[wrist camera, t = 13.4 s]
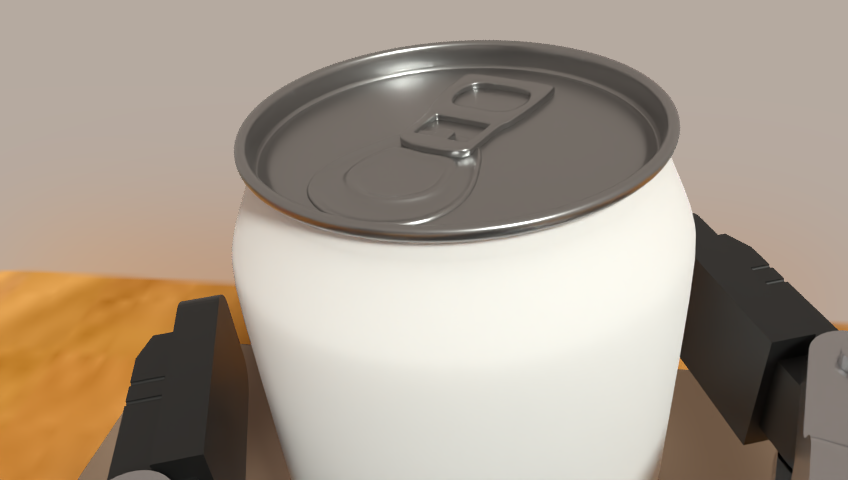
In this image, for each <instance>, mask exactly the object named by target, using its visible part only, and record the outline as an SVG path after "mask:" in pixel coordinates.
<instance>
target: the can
mask: <svg viewBox="0 0 848 480" xmlns="http://www.w3.org/2000/svg"><path fill="white" fill-rule="evenodd" d="M679 134H680V121H679V115H678V112H677V109H676V107H675V105H674V103H673V101H672V100H671V98H670V97H669V96H668V94H667V93H666V92H665V91H664V90H663V89H662V88H661V87H660V86H659V85H658V84H657V83H655V82H654V81H653V80H651V79H650V78H649V77H647V76H646V75H644V74H642V73H641V72H639V71H637V70H635V69H633V68H631V67H629V66H627V65H625V64H622V63H620V62H617V61H615V60H612V59H609V58H606V57H603V56H600V55H597V54H593V53H589V52H586V51H582V50H577V49H573V48H567V47H562V46H556V45H549V44H541V43H532V42H520V41H501V40H500V41H499V40H475V41H474V40H471V41H451V42H438V43H428V44H420V45H413V46H406V47H400V48H394V49H390V50H384V51H379V52H375V53H371V54H367V55H362V56H359V57H355V58H352V59H348V60H345V61H342V62H338V63H335V64H333V65H330V66H327V67H325V68H322V69H319V70H316V71H314V72H312V73H309V74H307V75H305V76H303V77H301V78H299V79H297V80H295V81H293V82H291V83H289V84H287V85H286V86H284V87H282V88H281V89H279V90H277V91H276V92H275V93H273V94H272V95H270V96H269V97H267V98H266V99H265V100H264V101H262V102H261V103H260V104H259V105H258V106H257V107H256V108H255V109H254V110H253V111H252V112H251V113H250V114H249V115H248V117H247V118H246V119H245V121H244V122H243V124H242V126H241V127H240V129H239V131H238V134H237V136H236V140H235V145H234V157H235V163H236V167H237V170H238V172H239V174H240V176H241V178H242V180H243V181H244V183H245V184H246V187H245V191H244V195H243V198H242V202H241V206H240V209H239V213H238V217H237V221H236V226H235V231H234V236H233V244H232V265H233V272H234V279H235V285H236V289H237V293H238V297H239V301H240V305H241V309H242V313H243V317H244V321H245V324H246V328H247V331H248V335H249V338H250V342H251V345H252V349H253V352H254V356H255V359H256V363H257V366H258V370H259V373H260V376H261V380H262V383H263V387H264V390H265V393H266V397H267V400H268V404H269V407H270V410H271V414H272V417H273V421H274V424H275V427H276V431H277V434H278V437H279V441H280V444H281V448H282V451H283V454H284V458H285V461H286V464H287V468H288V471H289V474H290V478H291V480H658V476H659V470H660V465H661V459H662V454H663V448H664V443H665V437H666V432H667V426H668V420H669V415H670V409H671V403H672V398H673V392H674V386H675V381H676V375H677V369H678V364H679V358H680V352H681V346H682V340H683V334H684V329H685V323H686V317H687V311H688V305H689V299H690V291H691V284H692V277H693V270H694V262H695V243H696V231H695V223H694V218H693V214H692V211H691V207H690V204H689V201H688V198H687V195H686V192H685V189H684V187H683V185H682V182H681V180H680V177H679V175H678V173H677V170H676V168H675V165H674V163H673V161H672V158H671V156H672V155H673V152H674V150H675V148H676V145H677V143H678V139H679Z"/></svg>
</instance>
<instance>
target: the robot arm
mask: <svg viewBox="0 0 848 480" xmlns="http://www.w3.org/2000/svg"><path fill="white" fill-rule="evenodd" d="M692 214H693V218H694V223H695V231H696V243H695V262H694V270H693V277H692V284H691V291H690V299H689V305H688V311H687V317H686V323H685V329H684V334H683V340H682V346H681V352H680V358H681V359H682V361H683V362H684V364H685V365H686V366H687V368H688V369H689V370H690V372H691V373H692V375H693V376H694V377H695V379H696V380H697V382H698V383H699V384H700V386H701V387H702V389H703V390H704V391H705V393H706V394H707V396H708V397H709V398H710V400H711V401H712V402H713V404H714V405H715V407H716V408H717V409H718V411H719V412H720V414H721V415H722V416H723V418H724V419H725V421H726V422H727V423H728V425H729V426H730V428H731V429H732V430H733V432H734V433H735V434H736V436H737V437H738V439H739V440H740V441H741V443H742V444H743V445H748V444H752V443H757V442H761V441H766V440H770V441H771V443H772V444H773V445H774V447H775V448H776V452H775V456H774V459H773V464H772V473H771V480H848V331H839V330H838V329H836V328H835V327H834V326H833V325H832V324H831V323H830V322H829V321H828V320H827V319H826V318H825V317H824V316H823V315H822V314H821V313H820V312H819V311H818V310H817V309H816V308H814V307H813V306H812V305H811V304H810V303H809V302H808V301H807V300H806V299H805V298H804V297H803V296H802V295H801V294H800V293H799V292H798V291H797V290H796V289H795V288H794V287H792V286H791V285H790V284H789V283H788V282H784V278H783V277H782V276H781V275H780V274H779V273H778V272H777V271H776V270H775V269H774V268H770V267H769V264H768V263H767V262H766V261H765V260H764V259H763V258H762V257H761V256H760V255H759V254H758V253H757V252H756V251H755V250H754V249H752V247H750V246H748V245H746V244H744V243H742V242H740V241H738V240H736V239H734V238H733V237H730V236H729V235H727V234H721V235H717V234H716V233H715V232H714V231H713V230H712V229H711V228H710V227H709V226H708V225H707V224H706V223H705V222H704V221H703V220H702V219H701V218H700V217H699V216H698V215H696V214H694V213H692ZM130 382H131V386H130V387H129V390H128V394H127V398H126V406H125V407H124V411H123V415H122V419H121V423H120V428H119V432H118V436H117V440H116V444H115V449H114V453H113V457H112V461H111V465H110V469H109V474H108V478H107V480H246V454H247V428H248V401H249V382H248V373H247V367H246V362H245V358H244V355H243V352H242V348H241V345H240V342H239V339H238V336H237V333H236V329H235V326H234V323H233V320H232V317H231V313H230V310H229V307H228V304H227V301H226V299H225V297H224V296H223V295H216V296H211V297H205V298H199V299H194V300H188V301H182V302H180V303H179V305H178V308H177V314H176V319H175V325H174V330H173V332H171V333H165V334H160V335H154V336H152V338H151V339H150V340H149V342H148V343H147V344H146V346H145V347H144V348H143V350H142V351H141V352H140V354H139V355H138V356H137V358H136V360H135V365H134V369H133V373H132V377H131V381H130Z"/></svg>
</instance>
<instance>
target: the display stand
mask: <svg viewBox="0 0 848 480" xmlns="http://www.w3.org/2000/svg"><path fill="white" fill-rule="evenodd" d="M240 345H241V348H242V352H243V355H244V358H245V362H246V367H247V373H248V382H249V401H248V428H247V454H246V480H291V478H290V474H289V471H288V468H287V464H286V461H285V458H284V454H283V451H282V448H281V444H280V441H279V437H278V434H277V431H276V427H275V424H274V421H273V417H272V414H271V410H270V407H269V404H268V400H267V397H266V393H265V390H264V387H263V383H262V380H261V376H260V373H259V370H258V366H257V363H256V359H255V356H254V352H253V349H252V345H247V344H240ZM122 415H123V413H122ZM122 415H121V416H120V418H119V419H118V420H117V422H116V423H115V425H114V426H113V428H112V429H111V431H110V432H109V434H108V435H107V437H106V438H105V440H104V441H103V443H102V444H101V446H100V447H99V449H98V450H97V452H96V453H95V455H94V456H93V458H92V459H91V460H90V462H89V463H88V465H87V466H86V468H85V469H84V471H83V472H82V474H81V475H80V477H79V478H78V480H107V478H108V474H109V469H110V465H111V461H112V457H113V453H114V449H115V444H116V440H117V436H118V432H119V428H120V423H121V419H122ZM775 452H776V448H775V447H774V445H773V444H772V443H771V441H770V440H766V441H761V442H757V443H752V444H748V445H743V444H742V443H741V441H740V440H739V439H738V437H737V436H736V434H735V433H734V432H733V430H732V429H731V428H730V426H729V425H728V423H727V422H726V421H725V419H724V418H723V416H722V415H721V414H720V412H719V411H718V409H717V408H716V407H715V405H714V404H713V402H712V401H711V400H710V398H709V397H708V396H707V394H706V393H705V391H704V390H703V389H702V387H701V386H700V384H699V383H698V382H697V380H696V379H695V377H694V376H693V375H692V373H691V372H690V370H680V369H677V375H676V381H675V386H674V392H673V398H672V403H671V409H670V415H669V420H668V426H667V432H666V437H665V443H664V448H663V454H662V459H661V465H660V470H659V476H658V480H771V473H772V464H773V459H774V456H775Z"/></svg>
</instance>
